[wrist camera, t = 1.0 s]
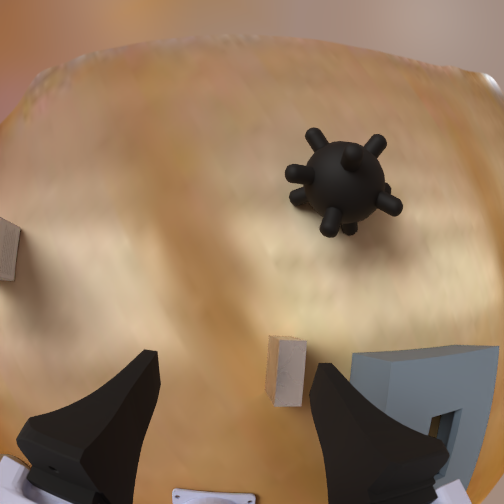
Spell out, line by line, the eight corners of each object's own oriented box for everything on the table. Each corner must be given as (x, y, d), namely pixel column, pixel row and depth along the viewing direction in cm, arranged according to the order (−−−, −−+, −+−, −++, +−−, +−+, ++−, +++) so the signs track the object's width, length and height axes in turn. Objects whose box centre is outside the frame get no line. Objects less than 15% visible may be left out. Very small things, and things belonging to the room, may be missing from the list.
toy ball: (401, 263, 24) (295, 264, 20) (346, 214, 32) (253, 205, 28) (443, 161, 20) (338, 121, 16) (372, 131, 28) (276, 103, 23)
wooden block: (286, 390, 24) (301, 406, 19) (264, 390, 24) (274, 406, 19) (291, 336, 25) (306, 340, 20) (268, 335, 25) (279, 339, 20)
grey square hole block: (429, 479, 22) (462, 499, 15) (328, 506, 21) (351, 541, 14) (455, 344, 26) (499, 345, 19) (352, 352, 25) (391, 361, 18)
